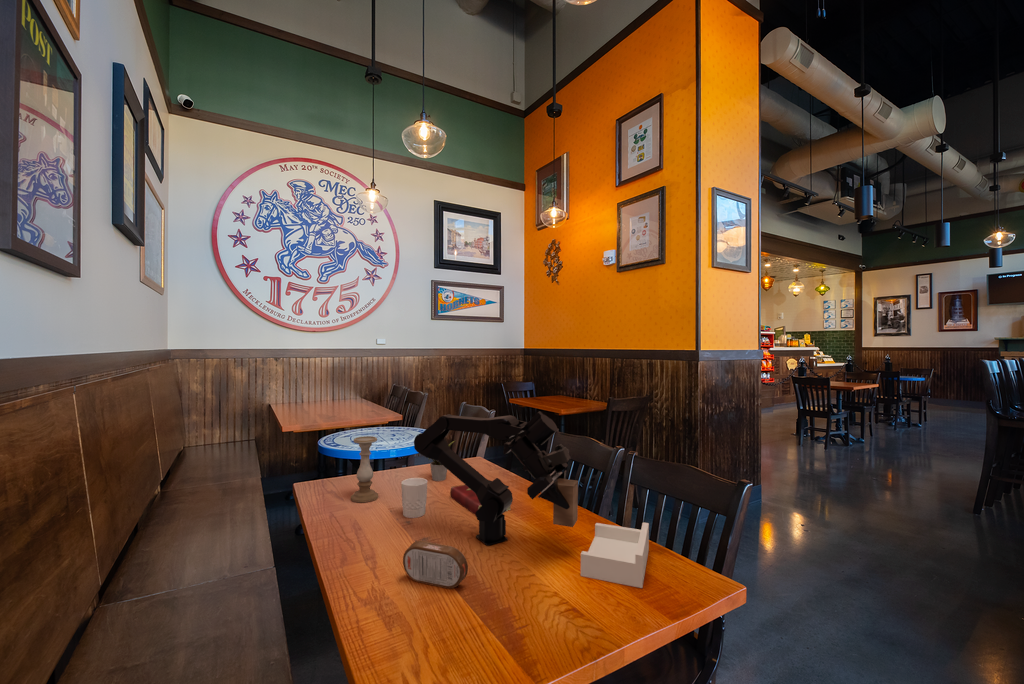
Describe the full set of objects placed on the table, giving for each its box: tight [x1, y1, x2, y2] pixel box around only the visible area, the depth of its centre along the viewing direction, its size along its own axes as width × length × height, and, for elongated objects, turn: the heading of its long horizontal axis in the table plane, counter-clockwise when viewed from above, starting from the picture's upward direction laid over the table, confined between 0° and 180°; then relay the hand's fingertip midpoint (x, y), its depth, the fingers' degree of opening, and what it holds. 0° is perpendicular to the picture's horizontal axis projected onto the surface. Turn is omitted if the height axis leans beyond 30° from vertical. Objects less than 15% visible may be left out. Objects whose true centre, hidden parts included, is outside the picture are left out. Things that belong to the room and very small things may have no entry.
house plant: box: [428, 440, 456, 482], centre depth 171 cm, size 14×14×16 cm
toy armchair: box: [580, 522, 650, 589], centre depth 107 cm, size 14×19×7 cm
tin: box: [402, 540, 469, 589], centre depth 97 cm, size 15×3×8 cm, turn 71°
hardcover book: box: [449, 484, 511, 516], centre depth 146 cm, size 12×21×4 cm, turn 32°
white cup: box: [400, 477, 428, 519], centre depth 136 cm, size 8×8×10 cm
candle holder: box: [350, 435, 379, 504], centre depth 149 cm, size 9×9×20 cm
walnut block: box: [552, 478, 579, 528], centre depth 111 cm, size 5×5×10 cm
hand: (571, 504), depth 111 cm, fingers closed on walnut block, 5 cm apart
